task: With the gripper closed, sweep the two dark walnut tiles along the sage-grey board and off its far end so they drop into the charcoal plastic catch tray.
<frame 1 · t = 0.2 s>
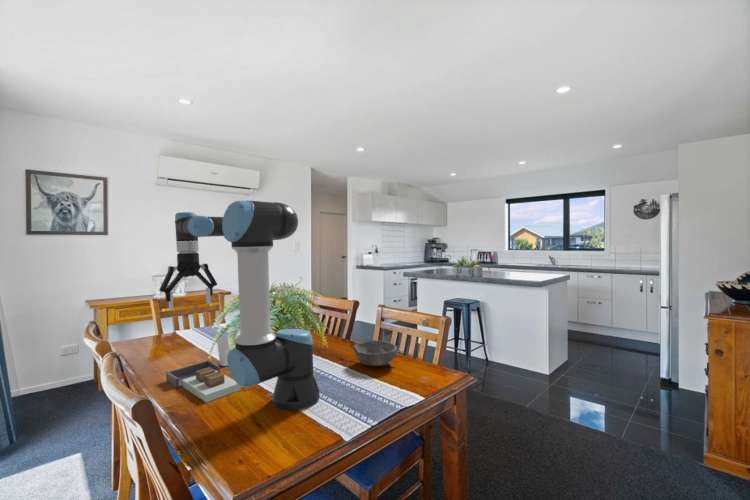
hand: (190, 306, 138), 28 cm above the table, fingers open, 13 cm apart
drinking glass: (226, 364, 152), on the table
tile 2: (214, 383, 126), point 2 cm above the table, touching board
board: (210, 388, 128), on the table
bowl: (375, 365, 147), on the table
catch tray: (193, 377, 138), on the table
tile 1: (205, 378, 130), point 2 cm above the table, touching board
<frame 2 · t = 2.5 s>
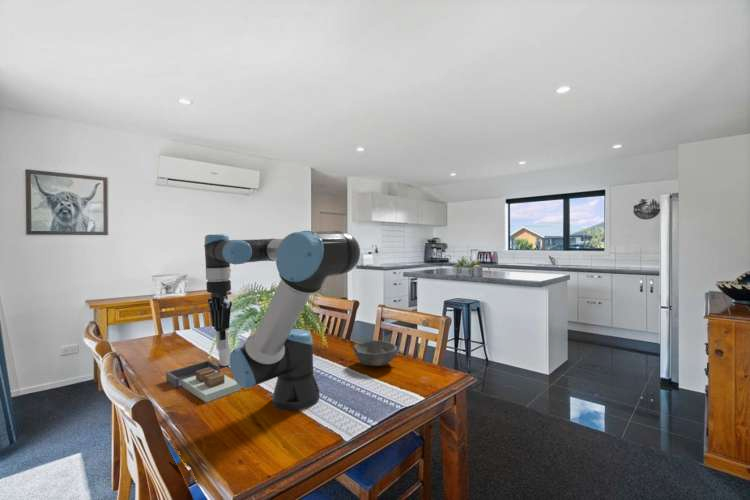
hand: (221, 348, 121), 16 cm above the table, fingers closed
nothing on the table moved.
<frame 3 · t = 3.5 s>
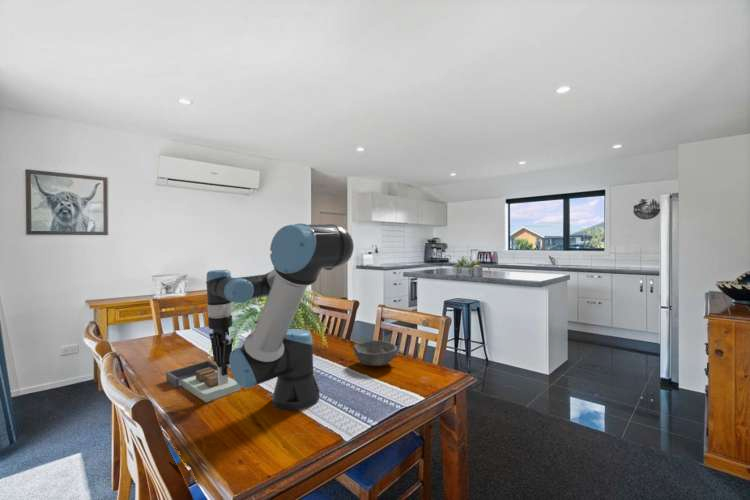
hand: (223, 383, 121), 4 cm above the table, fingers closed
nothing on the table moved.
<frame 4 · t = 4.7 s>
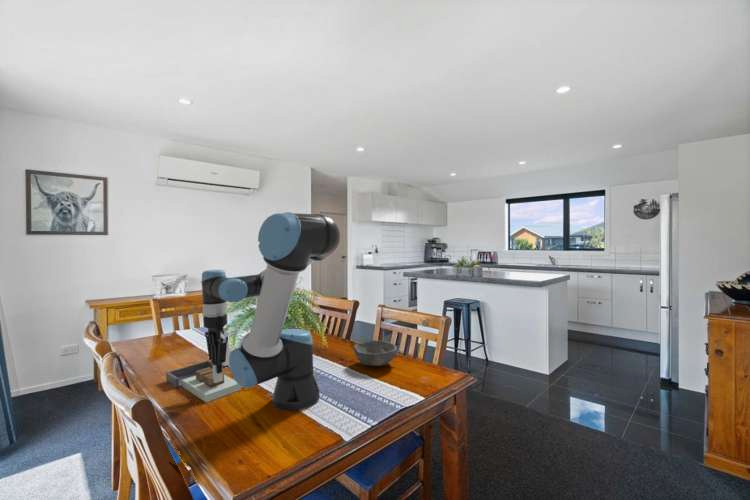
hand: (218, 381, 124), 4 cm above the table, fingers closed
tile 2: (214, 383, 126), point 3 cm above the table, touching board, gripper
everything else where it was.
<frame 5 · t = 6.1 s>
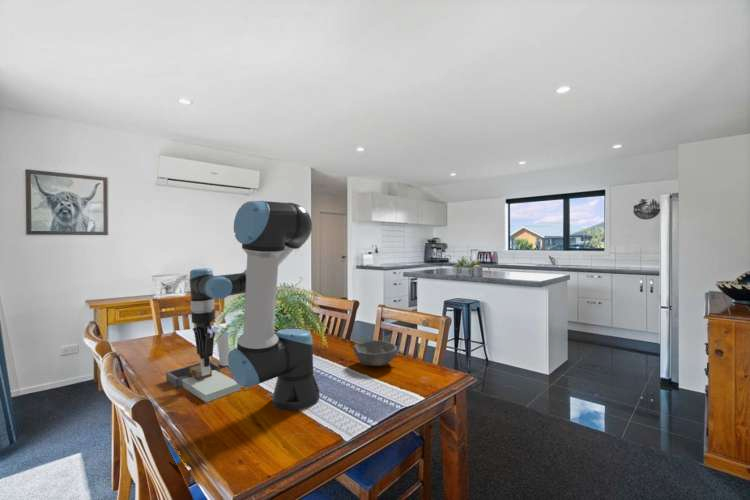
hand: (205, 374, 130), 4 cm above the table, fingers closed
tile 2: (202, 376, 132), point 3 cm above the table, touching gripper, tile 1
tile 1: (197, 375, 136), point 2 cm above the table, tilted 32°, touching tile 2
everything else where it was.
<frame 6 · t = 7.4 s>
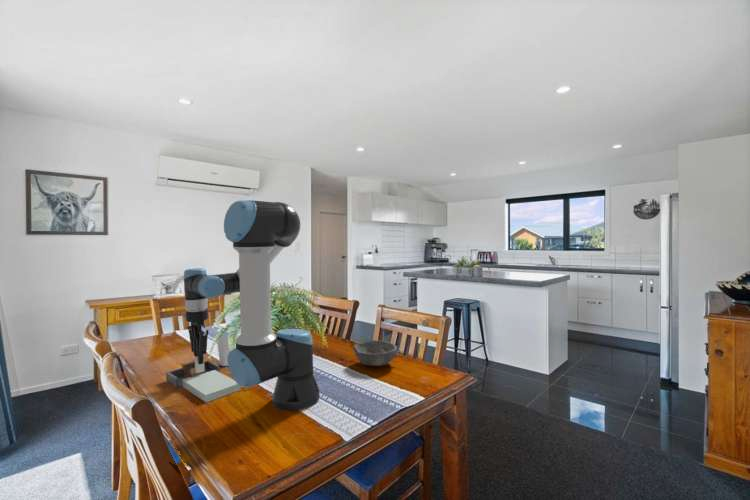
hand: (199, 371, 134), 4 cm above the table, fingers closed
tile 2: (196, 375, 136), point 2 cm above the table, tilted 24°, touching board, catch tray
tile 1: (192, 369, 138), point 3 cm above the table, tilted 90°, touching catch tray
everything else where it was.
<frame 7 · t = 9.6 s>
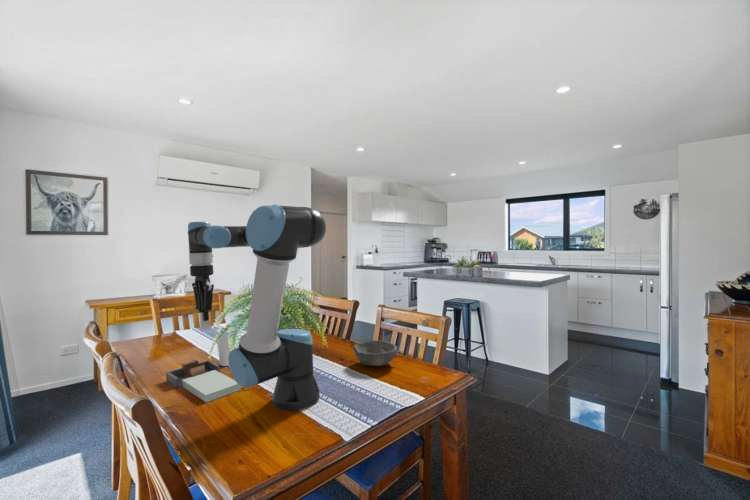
hand: (204, 329, 129), 21 cm above the table, fingers closed
nothing on the table moved.
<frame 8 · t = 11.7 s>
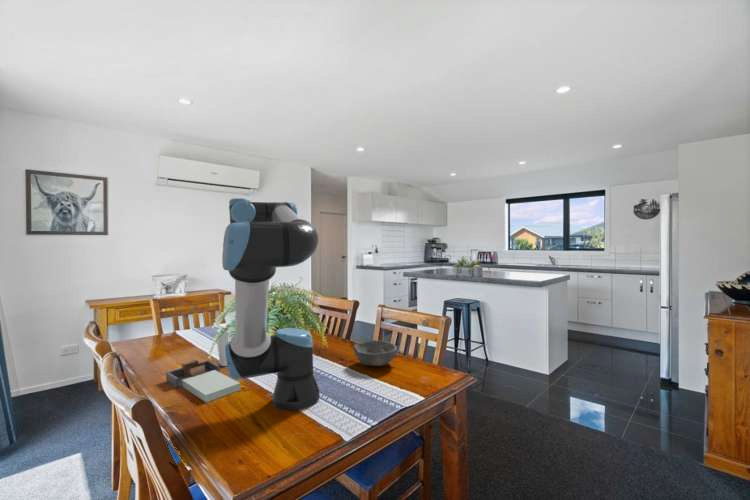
hand: (244, 303, 133), 29 cm above the table, fingers closed
nothing on the table moved.
at the end: tile 1 inside the target area (0.0 cm from its centre), point 3.1 cm above the table; tile 2 inside the target area (4.2 cm from its centre), point 1.6 cm above the table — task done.
